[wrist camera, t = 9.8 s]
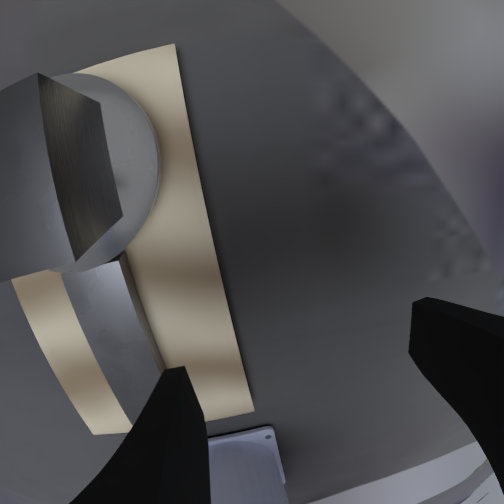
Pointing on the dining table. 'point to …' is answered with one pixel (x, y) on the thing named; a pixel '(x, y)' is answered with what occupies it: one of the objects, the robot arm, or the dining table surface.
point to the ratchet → (119, 251)
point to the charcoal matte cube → (52, 177)
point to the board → (152, 271)
